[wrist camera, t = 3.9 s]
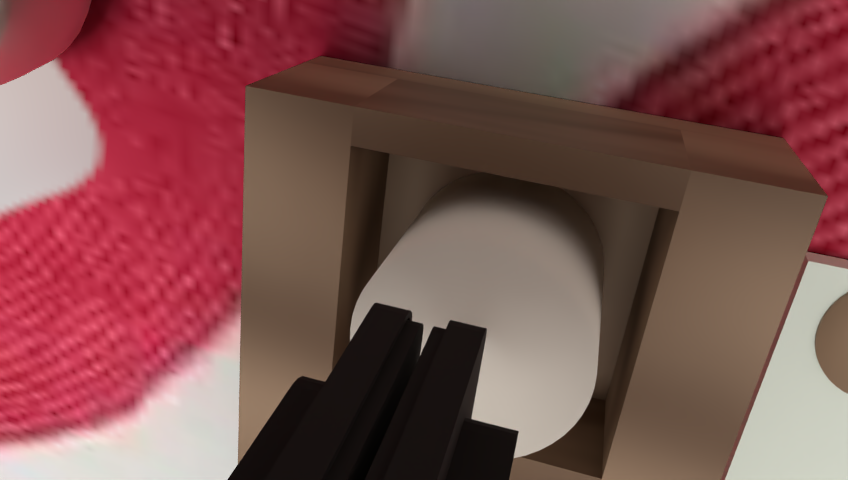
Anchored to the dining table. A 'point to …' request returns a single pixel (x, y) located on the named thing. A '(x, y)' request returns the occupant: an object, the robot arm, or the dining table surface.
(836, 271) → the card
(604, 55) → the dining table surface
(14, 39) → the plastic bottle
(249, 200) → the wooden compartment tray
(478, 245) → the button
